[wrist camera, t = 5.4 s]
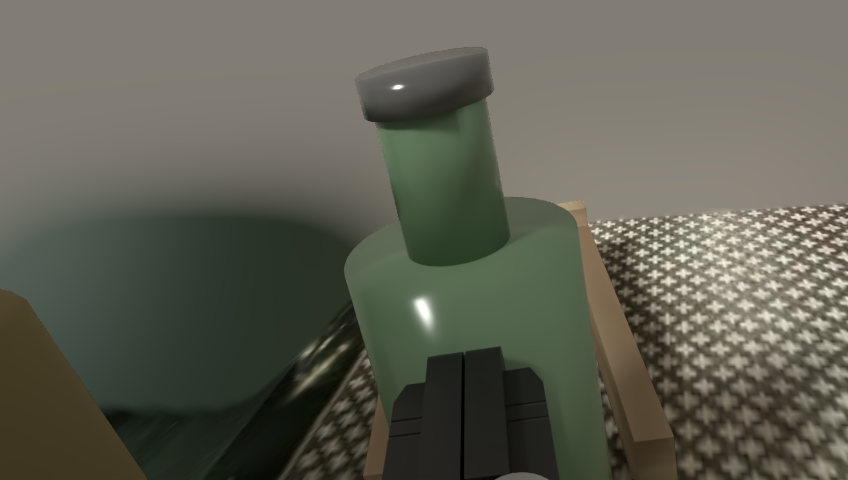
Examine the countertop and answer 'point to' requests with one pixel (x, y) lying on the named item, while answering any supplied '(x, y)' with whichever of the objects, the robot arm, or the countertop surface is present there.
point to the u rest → (619, 368)
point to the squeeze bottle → (50, 409)
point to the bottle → (471, 255)
